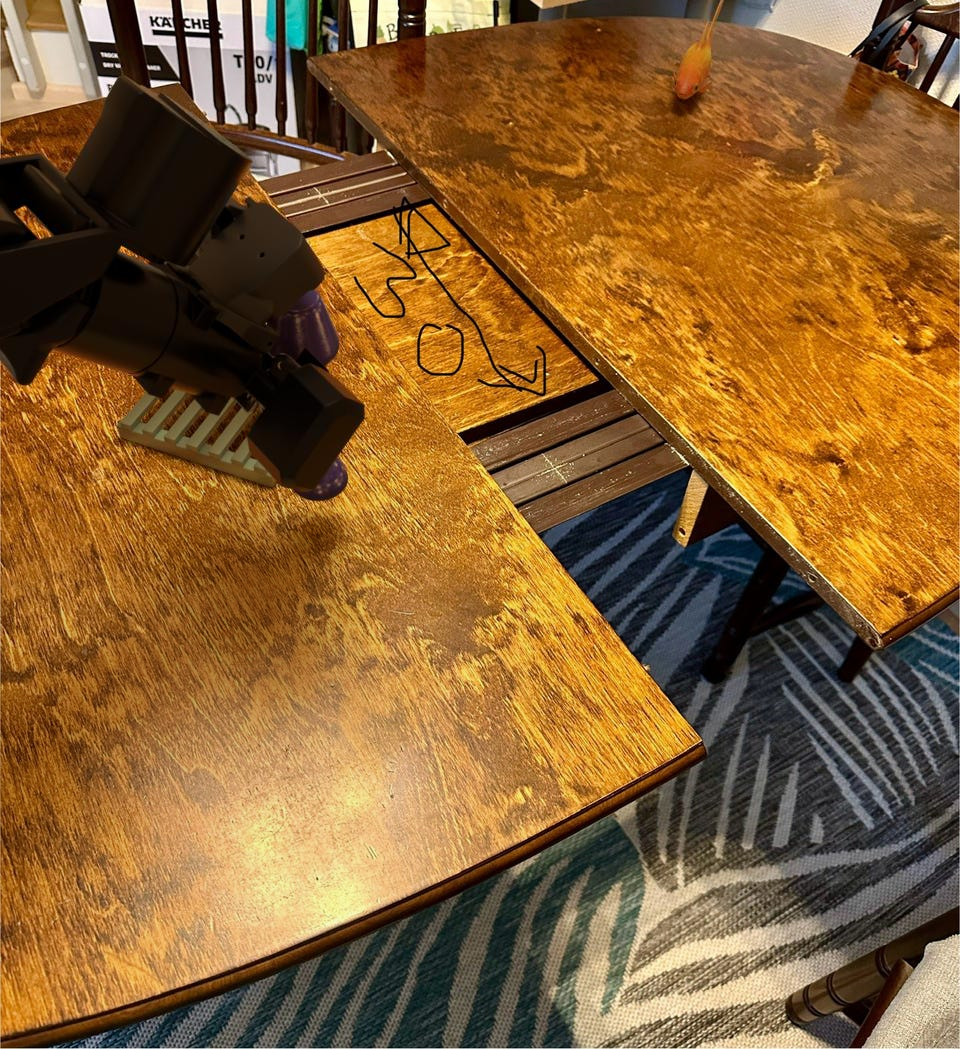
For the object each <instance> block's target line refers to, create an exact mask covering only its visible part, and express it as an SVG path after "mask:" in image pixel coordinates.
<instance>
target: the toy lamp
mask: <svg viewBox="0 0 960 1049" xmlns="http://www.w3.org/2000/svg"><path fill="white" fill-rule="evenodd" d="M266 325H268V326H271V327H272V328H273V329H274V330H275V331H276V332H277V333H278V334H279V335H280V336H279V338H278V339H277V341H276V342H275V344H274V345H273V347H272V348H271V350H270V351H269V352H270V353H271V354H273V355H274V356H277V355H278V354H281V353H284V354H287V355H289V356H291V357H292V358H293V359H294V360H295V361H296V360H297V358H298V357H299V355H300V354H301V352H302V351H303V349H304V348H306V349H307V350H308V351H309V352H310V353H311V354H312V355H313V356H314V357H315V358H316V359H317V360H318V361H320V362H321V363H322V364H323V365H324V366H326V365H328V364H330V363H331V362H332V361H333V360H334V359H335V358H336V357H337V355H338V353H339V350H340V338H339V335H338V334H339V333H338V332H337V329H336V327H335V324H334V322H333V319H332V318H331V315H330V312H329V310H328V308H327V305H326V304H325V301H324V299H323V297H322V295H321V293H320V292H319V291H318V290H317V288H316V289H315V290H313V291H309V292H307V293H306V294H305V295H304V296H303V297H302V298H301V299H300V300H298V301H297V302H296V303H295V304H294V305H293V306H292V307H291V308H289V309H288V310H287V311H286V312H285V313H284V314H283V315H282V316H280V317H279V318H278V319H276V320H275V321H272V322H267V323H266ZM347 470H348V469H347V468H346V466H345V464H344V463H343V461H342V460H341V459H340V458H339V457H337V458H336V460H335V461H334V463H333V464H332V465H331V467H330V468H329V470H328V471H327V472H326V474H325V475H324V477H323V478H322V480H321V481H320V482H319V484H318V485H317V487H316V488H315V489H314V490H311V491H304V492H302V491H298V490H293V492H294V493H295V494H296V495H297V496H298V497H300V498H302V499H304V500H307V501H311V502H325V501H328V500H332V499H334V498H336V497H338V496H339V495H341V494H342V493H343V492H344V491H345V489H346V488H347V486H348V483H349V474H348V471H347Z"/></svg>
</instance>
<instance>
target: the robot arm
mask: <svg viewBox="0 0 960 1049" xmlns="http://www.w3.org/2000/svg"><path fill="white" fill-rule="evenodd" d="M253 162H254V160H253V159H252V158H251V157H249V156H248V155H247V154H246V153H245V152H244V151H242V150H241V149H240V148H239V147H237V145H235V144H233V143H232V142H231V141H230V140H229V139H227V138H226V137H225V136H223V135H222V134H221V133H219V132H218V131H217V130H215V129H214V128H212V126H210V125H209V124H207V123H206V122H205V121H203V120H202V119H200V118H199V117H198V116H196V115H195V114H194V113H192V112H191V111H189V110H188V109H186V108H185V106H182V105H181V104H179V103H178V102H177V101H175V100H174V99H172V98H171V97H170V96H168V95H167V94H165V93H164V92H162V91H159V93H156V92H154V91H153V90H151V89H149V88H148V87H146V86H144V85H142V84H141V85H140V84H138V83H137V82H135V81H134V80H132V79H131V78H129V77H128V76H126V75H119V76H117V77H116V79H115V81H114V83H113V85H112V87H111V88H110V90H109V92H108V93H107V95H106V98H105V100H104V102H103V107H102V109H101V113H100V115H99V118H98V120H97V122H96V123H95V125H94V127H93V128H92V130H91V132H90V134H89V136H88V137H87V139H86V141H85V143H84V144H83V146H82V148H81V150H80V152H79V153H78V155H77V156H76V158H75V160H74V162H73V164H72V165H71V167H70V169H69V171H68V172H67V173H66V172H65V171H62V170H60V169H59V168H58V167H57V166H55V164H53V162H51V161H50V160H49V158H48V157H46V156H45V155H44V154H43V153H40V152H35V153H27V154H22V155H15V156H14V155H13V156H6V157H0V363H1V364H2V365H3V366H4V368H5V369H6V370H7V371H8V372H9V374H10V375H11V377H12V378H13V379H14V381H15V382H16V384H18V385H20V386H22V387H26V386H29V385H31V384H32V383H33V382H34V380H35V378H36V377H37V375H38V374H39V373H40V370H41V369H42V367H43V366H44V364H45V362H46V360H47V359H48V357H49V355H51V352H52V351H55V352H58V353H61V354H64V355H67V356H71V357H74V358H77V359H79V360H83V361H86V362H90V363H92V364H95V365H99V366H102V367H105V368H108V369H111V370H114V371H117V372H121V373H124V374H126V375H129V376H132V377H133V379H134V380H135V381H136V382H137V383H138V384H139V385H140V386H141V388H142V389H144V391H145V393H146V392H147V393H148V394H149V395H152V396H155V397H158V398H160V399H161V400H164V399H165V398H166V396H167V394H168V393H169V392H170V390H171V389H173V390H179V391H182V392H185V393H189V394H190V395H189V396H191V397H192V398H193V400H194V399H195V400H196V401H197V403H198V404H199V405H200V406H201V407H202V408H203V409H204V410H203V411H204V412H205V413H207V414H208V413H209V414H210V413H211V414H214V415H217V416H219V415H220V414H221V412H222V411H223V409H224V408H225V406H226V405H227V403H228V402H229V400H230V399H231V398H233V399H234V400H235V401H236V402H237V403H236V404H238V406H239V407H240V409H241V408H242V409H243V410H244V411H245V412H246V413H248V414H254V413H255V414H256V412H257V411H258V410H259V412H260V413H259V414H258V415H257V417H256V419H255V420H254V422H253V423H252V424H251V426H250V428H249V431H248V433H247V434H246V437H247V441H248V447H249V452H250V453H251V454H252V455H251V456H253V457H254V459H255V460H258V461H259V463H260V464H261V465H262V466H263V467H264V468H265V469H266V470H267V471H268V472H269V473H270V475H271V476H272V477H273V478H274V479H275V480H276V481H277V482H276V483H277V484H278V485H279V486H280V487H281V488H286V489H289V490H293V491H294V490H298V491H302V492H304V491H311V490H314V489H315V488H316V487H317V485H318V484H319V482H320V481H321V480H322V478H323V477H324V475H325V474H326V472H327V471H328V470H329V468H330V467H331V465H332V464H333V463H334V461H335V460H336V458H339V456H340V454H341V453H342V452H343V450H344V448H345V447H346V446H347V445H348V443H349V441H350V440H351V439H352V438H353V436H354V435H355V433H356V432H357V431H358V430H359V428H360V426H361V425H362V423H363V422H364V420H365V419H366V412H365V411H366V410H365V409H366V407H365V406H366V405H365V403H363V402H362V400H360V398H358V397H357V396H356V395H355V394H354V393H353V392H352V391H351V390H350V389H349V388H348V387H347V386H346V385H344V383H343V382H341V381H340V380H339V379H338V378H337V377H336V376H334V375H333V374H331V372H330V370H329V369H328V368H326V367H325V366H324V365H323V364H322V363H321V362H320V361H318V360H317V359H316V358H315V357H314V356H313V355H312V354H311V353H310V352H309V351H308V350H307V349H306V348H304V349H303V351H302V352H301V354H300V355H299V357H298V358H297V360H296V361H295V360H294V359H293V358H292V357H291V356H289V355H287V354H284V353H281V354H278V355H277V356H274V355H273V354H271V353H270V352H269V351H270V350H271V348H272V347H273V345H274V344H275V342H276V341H277V339H278V338H279V336H280V335H279V334H278V333H277V332H276V331H275V330H274V329H273V328H272V327H271V326H268V325H266V324H267V322H272V321H275V320H276V319H278V318H279V317H280V316H282V315H283V314H284V313H285V312H286V311H287V310H288V309H289V308H291V307H292V306H293V305H294V304H295V303H296V302H297V301H298V300H300V299H301V298H302V297H303V296H304V295H305V294H306V293H307V292H309V291H313V290H315V289H316V290H317V288H318V287H320V286H321V285H322V283H323V281H324V280H325V276H326V270H325V268H324V266H323V265H322V262H321V261H320V259H319V258H318V256H317V255H316V253H315V252H314V250H313V249H312V247H311V245H310V244H309V242H308V241H307V239H306V238H305V236H304V234H303V233H302V231H301V230H300V229H299V228H298V227H296V226H295V225H294V223H292V222H291V221H290V220H289V219H287V218H286V217H285V216H284V215H283V214H281V212H279V211H278V210H277V209H276V208H275V207H273V206H272V205H271V204H270V203H267V202H257V201H255V200H254V199H253V197H251V196H249V195H248V196H247V197H246V198H245V199H244V200H243V201H244V203H245V204H241V203H240V202H239V201H237V200H236V199H235V198H234V197H232V196H233V194H234V193H235V191H236V189H237V188H238V186H239V184H240V183H241V181H242V180H243V179H244V176H245V175H246V174H247V172H248V171H249V169H250V167H251V166H252V164H253ZM23 207H24V208H26V209H27V211H29V212H30V213H31V215H32V216H33V217H34V218H35V219H36V220H37V221H38V222H39V223H40V224H41V225H42V226H43V227H44V228H45V230H46V231H47V232H48V233H49V234H50V235H51V236H45V237H41V238H39V237H38V236H37V235H36V234H35V233H34V232H33V231H32V229H31V228H30V227H28V225H27V224H26V223H25V222H24V221H23V219H22V218H20V216H18V214H17V213H16V211H17V210H20V209H22V208H23ZM122 247H123V248H124V249H126V250H128V251H129V252H130V253H131V252H132V253H133V254H135V255H137V256H138V257H141V258H142V259H145V260H146V261H148V263H147V262H145V261H143V260H140V259H138V258H137V257H134V256H132V255H130V254H127V253H125V252H123V251H122V250H121V248H122ZM259 405H261V406H260V407H259ZM258 407H259V408H258ZM257 409H258V410H257ZM256 410H257V411H256ZM255 414H254V415H255Z"/></svg>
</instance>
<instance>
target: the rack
mask: <svg viewBox="0 0 960 1049" xmlns="http://www.w3.org/2000/svg"><path fill="white" fill-rule="evenodd" d="M327 365H328V364H327ZM327 365H326V366H325V367H326V368H327V367H328V366H327ZM327 369H328V368H327ZM189 396H191V395H190V394H189V393H185V392H182V391H179V390H176V389H174V391H173V392H172V393H171V394H170V396H168V398H167V399H166V400H165V401H164V403H163V404H162V405H161V406H160V407H159V408H158V409H157V411H156V412H155V413H154V414H153V415H152V416H151V417H150V419H149V420H148V421H147V423H145V422H141V421H142V419H143V418H144V417H145V416H146V415H147V414H148V413H149V412H150V410H151V409H152V408H153V407H154V406H155V405H156V403H158V401H159V400H160V399H161V398H158V397H155V396H152V395H149V394H148V393H147V392H146V391H145V393H144V394H143V395H142V396H141V397H140V399H139V400H138V401H137V402H136V403H135V404H134V405H133V407H132V408H131V409H130V410H129V411H128V412H127V413H126V415H125V416H123V417H122V418H121V420H120V421H119V422H117V424H116V425H115V426H116V429H117V432H118V436H119V438H120V439H124V440H127V441H130V442H133V443H135V444H139V445H142V446H145V447H148V448H151V449H154V450H157V451H159V452H163V453H165V454H169V455H171V456H174V457H178V458H181V459H184V460H187V461H190V462H193V463H196V464H199V465H202V466H205V467H208V468H211V469H214V470H217V471H220V472H223V473H226V474H229V475H232V476H235V477H238V478H241V479H245V480H247V481H251V482H254V483H257V484H259V485H262V486H266V487H269V488H272V489H273V488H274V487H275V485H276V484H277V483H278V482H277V481H276V480H275V479H274V478H273V477H272V476H271V475H270V473H269V472H268V471H267V470H266V469H265V468H264V467H263V466H262V465H261V464H260V463H259V461H258V460H257V459H256V458H252V457H251V456H253V455H252V454H251V453H250V452H249V447H248V441H247V436H246V437H245V439H244V440H243V441H242V443H241V444H240V445H239V447H238V448H237V449H236V451H235V452H234V451H232V450H231V451H230V450H229V448H231V446H232V444H233V443H234V442H235V441H236V439H237V437H238V436H239V435H240V434H241V432H242V431H243V430H244V428H245V427H246V426H247V425H248V423H249V422H250V421H251V419H252V418H253V417H254V415H255V414H256V412H257V411H258V410H259V408H260V406H261V405H259V407H258V409H257V410H256V412H255V413H254V414H248V413H246V412H245V411H244V410H243V409H242V408H241V407H240V409H239V411H238V412H237V413H236V414H235V415H234V417H233V418H232V419H231V421H230V422H229V423H228V425H227V426H226V427H225V428H224V430H223V431H222V433H221V434H220V435H219V437H218V438H217V439H216V441H214V443H213V445H212V444H210V443H207V441H208V440H209V439H210V437H211V436H212V435H213V434H214V432H215V431H216V429H218V428H219V426H220V424H221V423H222V422H223V421H224V419H226V417H227V416H228V414H229V413H230V412H231V411H232V409H233V408H234V407H235V406H236V404H238V403H237V402H236V401H235V400H234V399H233V398H231V399H230V400H229V402H228V403H227V405H226V406H225V408H224V409H223V411H222V412H221V414H220V415H219V416H217V415H214V414H211V413H209V414H208V415H207V416H206V417H205V419H204V420H203V422H202V423H201V424H200V425H199V426H198V428H197V429H196V430H195V432H194V433H193V434H192V435H191V437H188V436H185V434H186V433H187V432H188V431H189V429H190V428H191V426H192V425H193V424H194V423H195V422H196V420H197V419H198V418H199V417H200V415H201V414H202V413H203V412H204V411H205V410H204V409H203V408H202V407H201V406H200V405H199V404H198V403H197V401H196V400H195V399H194V398H193V400H192V401H191V403H190V404H189V406H187V408H186V409H185V410H184V411H183V413H182V414H181V415H180V416H179V417H178V418H177V419H176V420H175V422H174V424H172V426H171V427H169V429H168V430H167V429H163V427H164V426H165V425H166V424H167V423H168V421H169V420H170V419H171V418H172V417H173V415H174V414H175V413H176V411H177V410H178V409H179V408H180V407H181V406H182V404H183V403H184V402H185V401H186V399H188V397H189Z"/></svg>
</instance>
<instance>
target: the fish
mask: <svg viewBox="0 0 960 1049" xmlns="http://www.w3.org/2000/svg"><path fill="white" fill-rule="evenodd" d="M724 2H725V1H724V0H720V1H719V4H718V5H717V8H716V11H715V14H714V15H713V19H712V21H711V24H710V19H707V23H706V25H705V27H704V29H703V31H702V35H701V37H700V40H699V41H697V42H695V43H694V44H692V45H691V46H690V47H689V48H688V49H687V50H686V52H685V54H684V56H683V57H682V59H681V62H680V63H679V66H678V69H677V71H675V70H672V78H673V85H674V90H675V92H676V95H677V97H678V99H681V100H687V99H689V98H691V97H692V96H694V95H695V94H696V93H701V94H702V93H703V92H705V91H707V89H709V88H710V86H711V85H712V84H713V83H714V80H711V77H708V75H709V74H710V71H711V70H712V67H713V63H712V60H713V58H712V46H713V39H714V30H713V27H714V25H715V24H716V22H717V19H718V16H719V14H720V12H721V9H722V7H723V4H724Z"/></svg>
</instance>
